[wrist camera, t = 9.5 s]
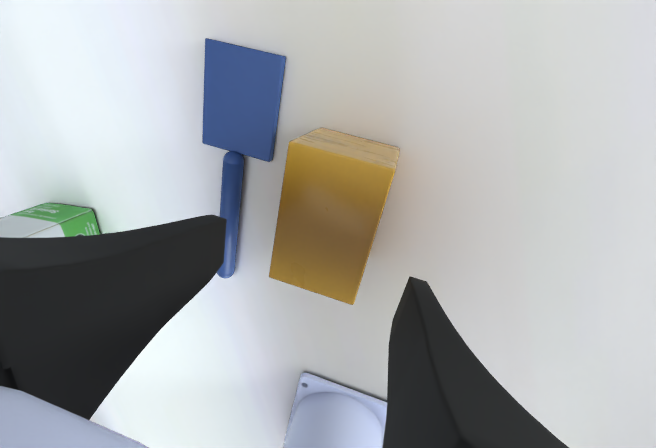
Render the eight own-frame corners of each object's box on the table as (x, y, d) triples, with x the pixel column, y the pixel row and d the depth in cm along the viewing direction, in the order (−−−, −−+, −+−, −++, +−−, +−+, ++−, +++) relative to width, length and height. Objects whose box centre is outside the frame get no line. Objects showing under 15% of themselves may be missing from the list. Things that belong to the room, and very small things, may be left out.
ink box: (45, 199, 25) (-226, 282, 14) (97, 208, 24) (-153, 305, 13) (74, 289, 28) (-124, 408, 18) (121, 300, 27) (-61, 433, 17)
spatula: (256, 281, 23) (249, 290, 22) (202, 263, 23) (192, 271, 22) (286, 56, 16) (277, 54, 15) (210, 39, 17) (196, 36, 16)
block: (366, 256, 20) (353, 305, 15) (300, 235, 20) (268, 277, 16) (400, 147, 17) (395, 169, 12) (320, 127, 17) (288, 140, 13)
